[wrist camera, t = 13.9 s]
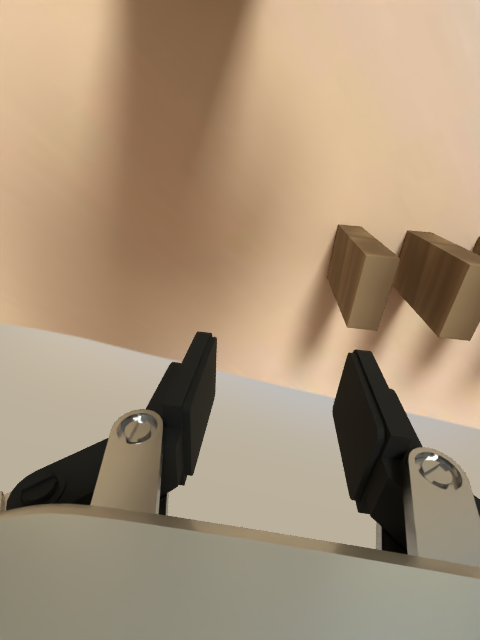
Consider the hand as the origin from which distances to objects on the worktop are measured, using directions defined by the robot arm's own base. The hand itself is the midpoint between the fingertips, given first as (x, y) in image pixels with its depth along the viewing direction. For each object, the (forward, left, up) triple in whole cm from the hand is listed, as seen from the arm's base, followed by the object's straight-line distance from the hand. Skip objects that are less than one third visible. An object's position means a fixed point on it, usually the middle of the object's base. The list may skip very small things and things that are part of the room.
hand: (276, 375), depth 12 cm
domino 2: (+12, 0, -19) cm, 23 cm away
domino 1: (+6, 0, -19) cm, 20 cm away
